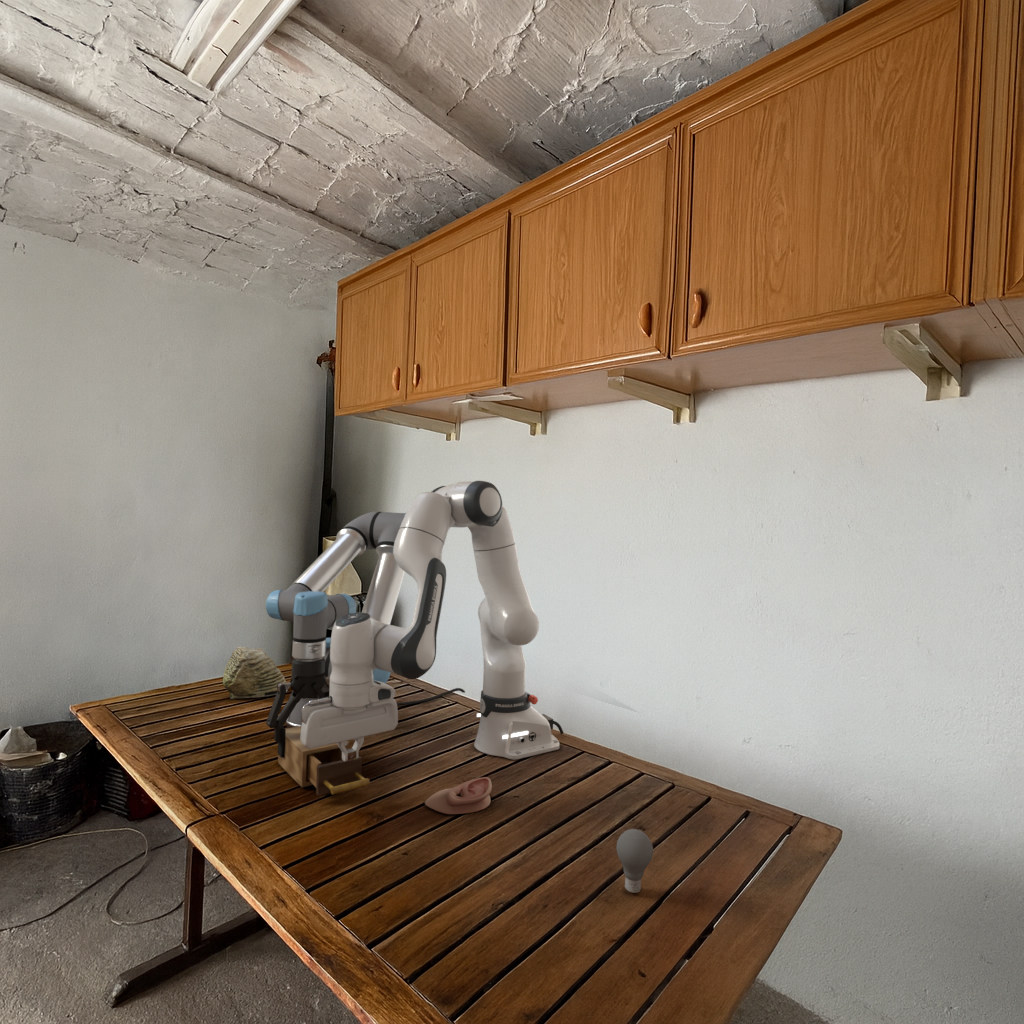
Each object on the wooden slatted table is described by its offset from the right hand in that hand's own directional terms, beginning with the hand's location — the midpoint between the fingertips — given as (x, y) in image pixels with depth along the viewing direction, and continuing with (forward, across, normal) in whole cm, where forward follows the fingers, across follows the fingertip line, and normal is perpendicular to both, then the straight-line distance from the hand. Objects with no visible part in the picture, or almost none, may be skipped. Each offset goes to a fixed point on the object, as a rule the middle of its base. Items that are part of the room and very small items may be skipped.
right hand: (350, 759), depth 131 cm
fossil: (+9, +4, +81) cm, 82 cm away
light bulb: (+10, +26, -54) cm, 61 cm away
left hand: (+6, 0, +24) cm, 25 cm away
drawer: (+8, -1, +8) cm, 11 cm away
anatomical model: (+10, +19, -12) cm, 25 cm away
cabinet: (+9, 0, +19) cm, 21 cm away
